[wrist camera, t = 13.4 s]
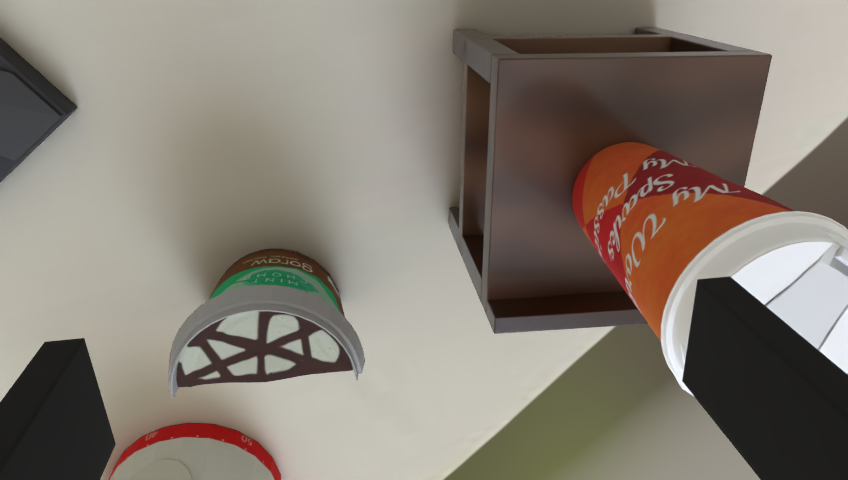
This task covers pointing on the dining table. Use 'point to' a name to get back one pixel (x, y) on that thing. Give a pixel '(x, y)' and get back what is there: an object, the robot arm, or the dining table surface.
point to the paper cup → (710, 247)
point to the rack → (581, 155)
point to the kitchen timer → (195, 456)
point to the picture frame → (25, 109)
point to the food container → (266, 325)
